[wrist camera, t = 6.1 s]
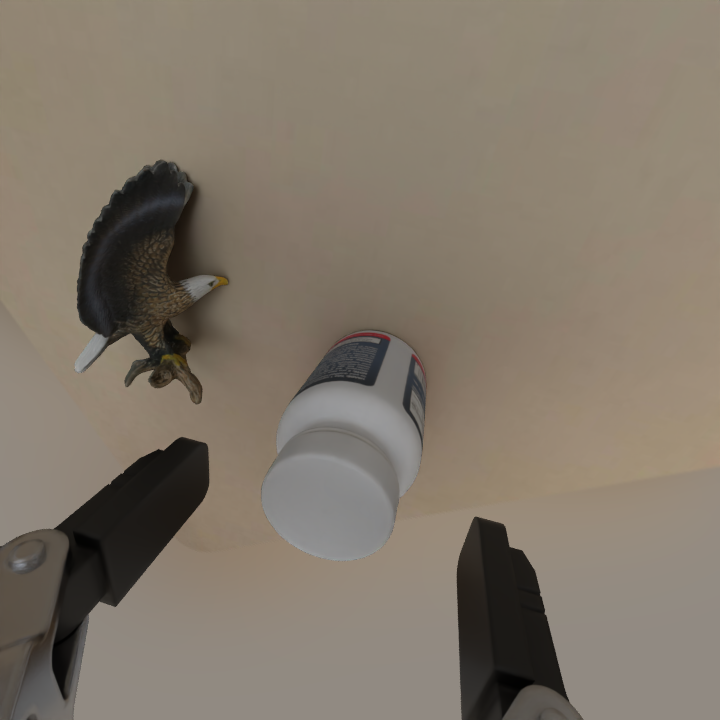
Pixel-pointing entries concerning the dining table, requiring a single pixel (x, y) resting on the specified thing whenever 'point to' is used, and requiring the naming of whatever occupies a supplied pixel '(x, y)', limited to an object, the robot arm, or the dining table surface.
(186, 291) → the eagle figurine
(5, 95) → the dining table surface
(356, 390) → the pill bottle
